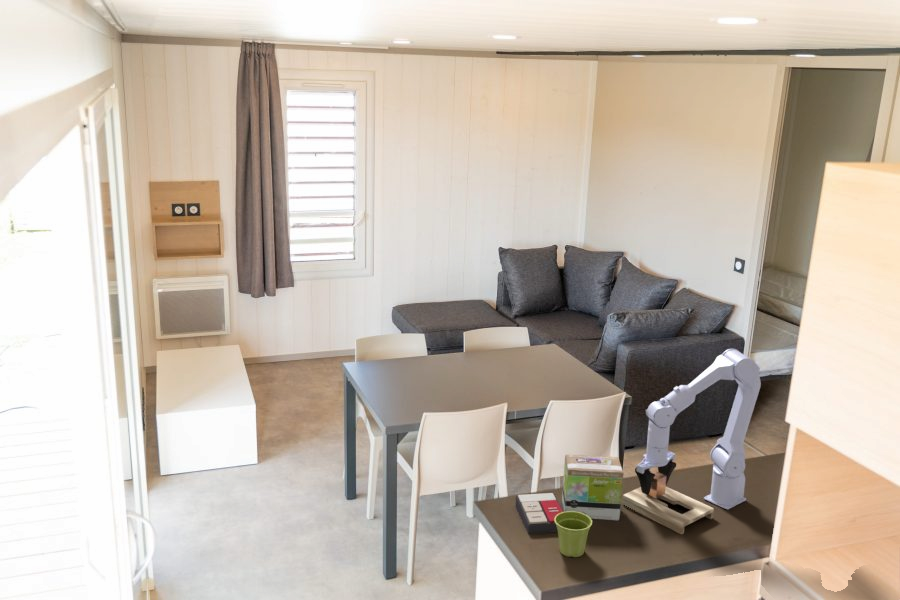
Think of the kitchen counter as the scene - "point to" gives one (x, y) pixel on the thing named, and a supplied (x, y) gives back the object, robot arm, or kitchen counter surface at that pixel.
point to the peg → (658, 485)
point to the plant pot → (572, 532)
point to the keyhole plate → (662, 512)
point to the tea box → (593, 486)
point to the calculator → (538, 512)
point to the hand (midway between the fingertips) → (653, 489)
